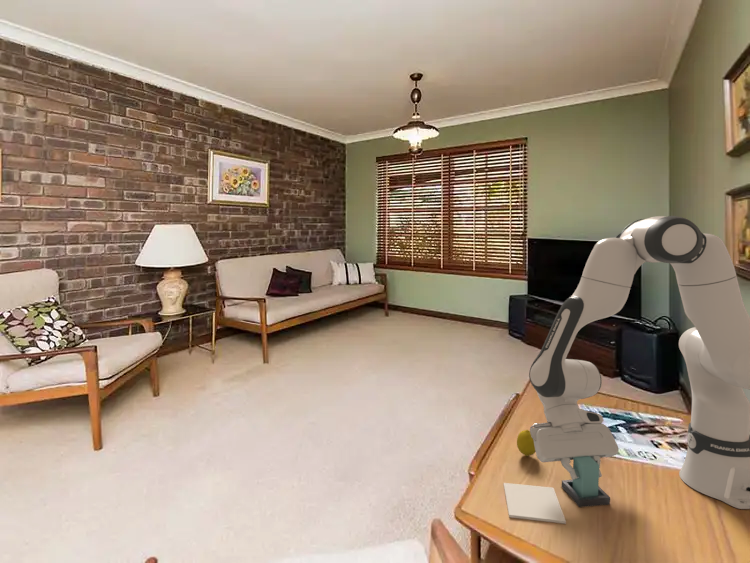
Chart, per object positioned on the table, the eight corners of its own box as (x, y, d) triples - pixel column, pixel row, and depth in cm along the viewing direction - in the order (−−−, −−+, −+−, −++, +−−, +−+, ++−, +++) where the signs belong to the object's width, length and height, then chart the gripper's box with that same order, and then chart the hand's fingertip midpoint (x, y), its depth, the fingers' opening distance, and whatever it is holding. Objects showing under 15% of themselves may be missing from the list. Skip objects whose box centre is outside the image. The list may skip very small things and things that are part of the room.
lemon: (538, 462, 112) (539, 435, 111) (518, 460, 113) (518, 433, 112) (535, 451, 118) (535, 426, 117) (515, 450, 119) (515, 424, 118)
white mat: (553, 489, 100) (553, 487, 100) (565, 523, 88) (565, 521, 88) (503, 484, 102) (503, 482, 102) (509, 517, 91) (509, 514, 91)
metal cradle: (589, 484, 102) (590, 478, 101) (609, 504, 94) (610, 497, 94) (561, 487, 101) (561, 480, 101) (579, 507, 93) (579, 500, 93)
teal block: (587, 489, 100) (588, 455, 99) (597, 500, 96) (599, 465, 95) (572, 490, 99) (573, 457, 98) (582, 501, 95) (583, 466, 94)
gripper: (531, 419, 102) (551, 478, 93) (607, 414, 103) (633, 471, 95) (523, 428, 107) (541, 484, 98) (596, 422, 108) (619, 478, 100)
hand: (587, 478), depth 96 cm, fingers closed on teal block, 4 cm apart
